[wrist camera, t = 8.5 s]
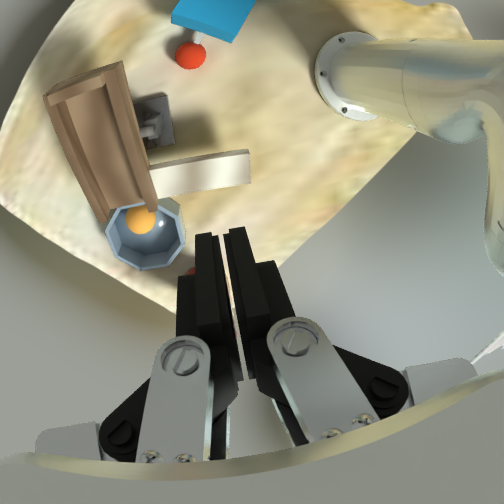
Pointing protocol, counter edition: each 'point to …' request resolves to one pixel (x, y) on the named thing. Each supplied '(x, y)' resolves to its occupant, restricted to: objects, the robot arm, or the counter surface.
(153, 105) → the pivot stand
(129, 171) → the chute lever
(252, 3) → the lever
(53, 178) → the counter surface
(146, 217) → the ball
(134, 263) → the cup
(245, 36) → the counter surface
